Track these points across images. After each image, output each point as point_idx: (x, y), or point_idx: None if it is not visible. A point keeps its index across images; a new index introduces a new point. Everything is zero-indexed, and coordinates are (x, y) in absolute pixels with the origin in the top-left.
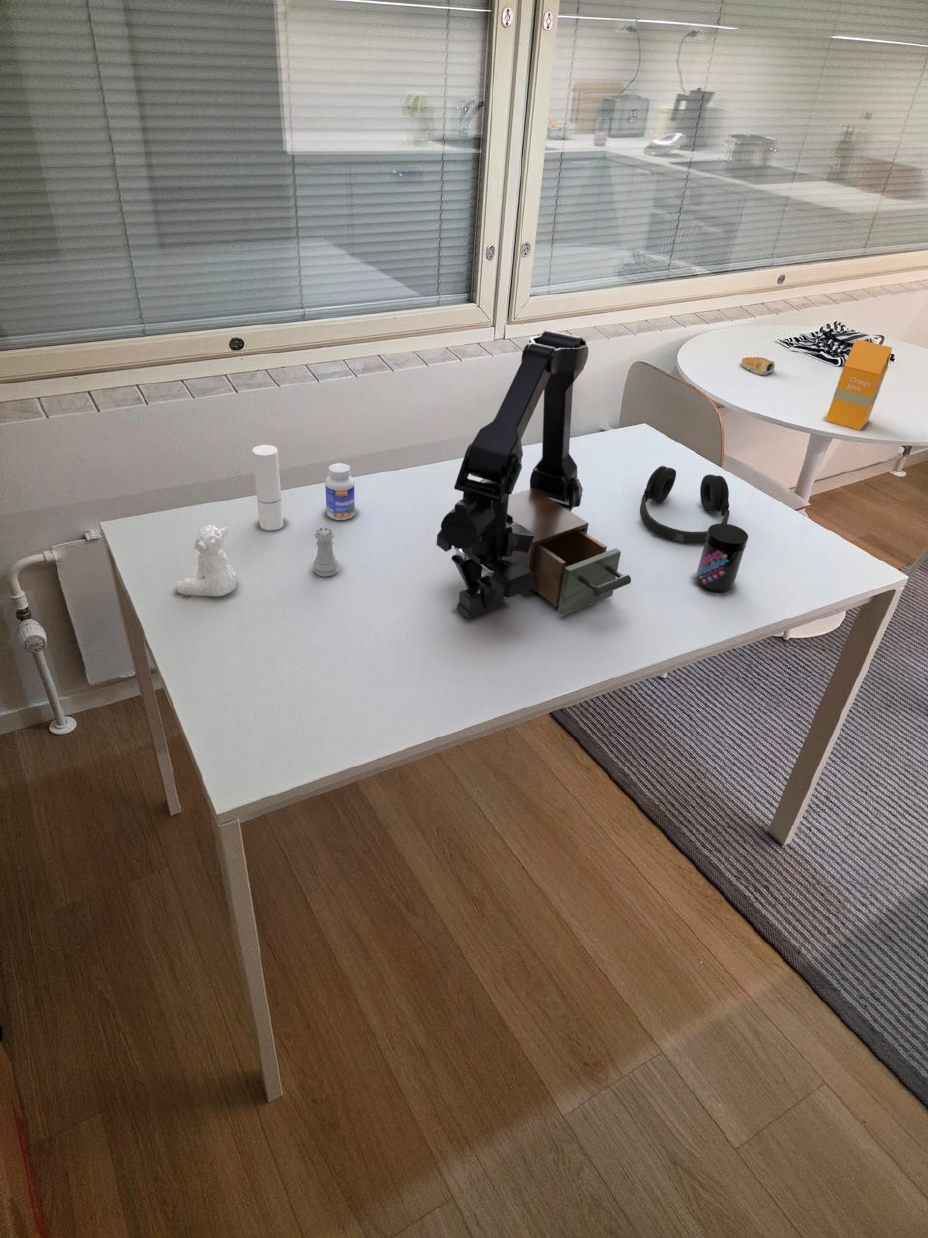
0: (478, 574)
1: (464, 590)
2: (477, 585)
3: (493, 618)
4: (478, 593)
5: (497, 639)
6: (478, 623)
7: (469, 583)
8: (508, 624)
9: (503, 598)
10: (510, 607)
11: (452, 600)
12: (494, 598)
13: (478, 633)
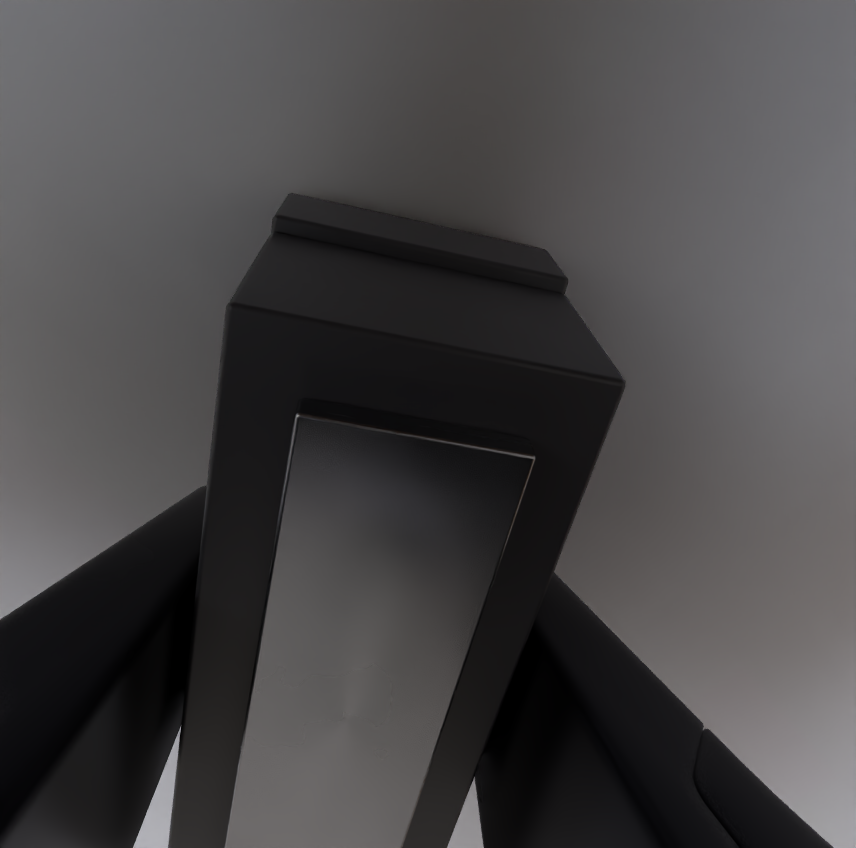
0: (72, 820)
1: (177, 838)
2: (192, 653)
3: (590, 508)
4: (404, 818)
5: (794, 690)
6: None
7: (131, 841)
8: (783, 477)
9: (554, 278)
10: (635, 193)
11: (38, 577)
12: (605, 630)
13: None
